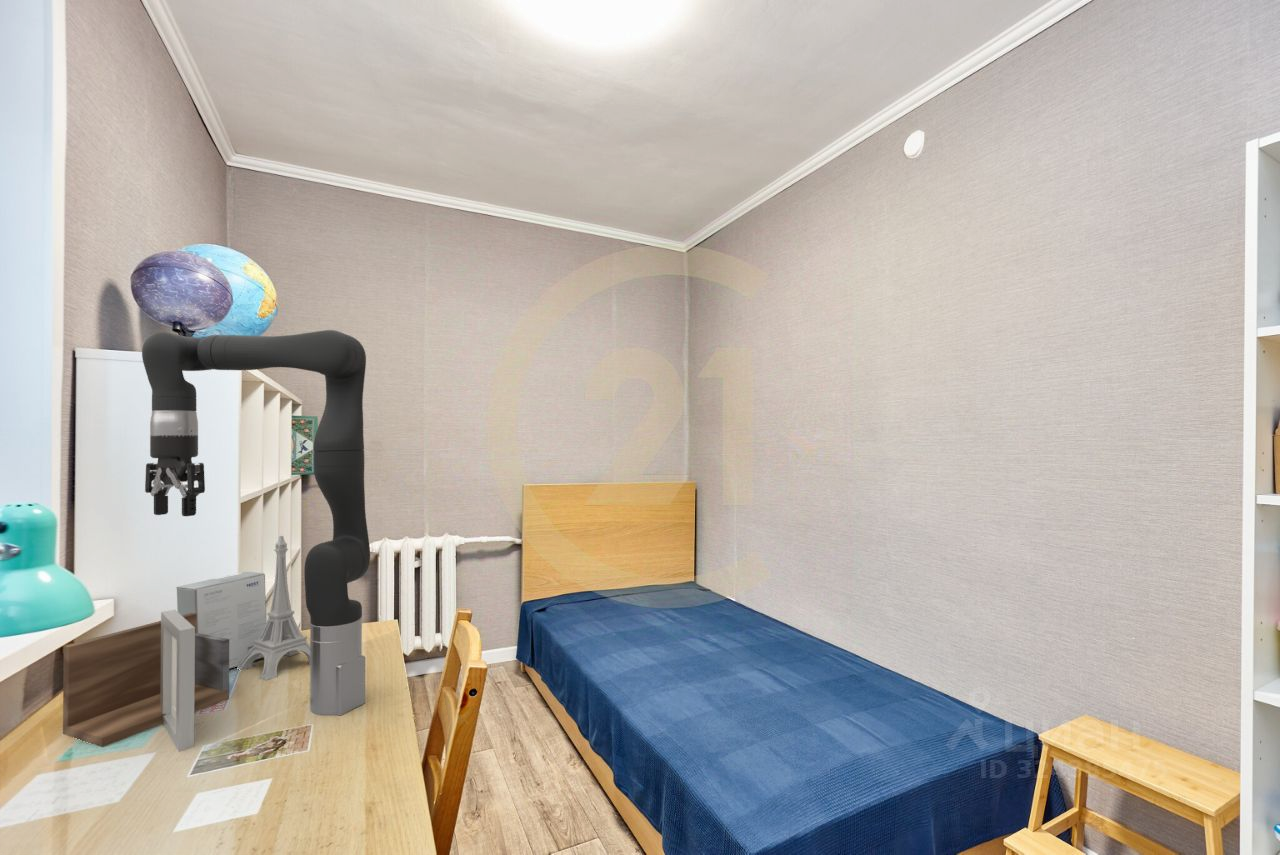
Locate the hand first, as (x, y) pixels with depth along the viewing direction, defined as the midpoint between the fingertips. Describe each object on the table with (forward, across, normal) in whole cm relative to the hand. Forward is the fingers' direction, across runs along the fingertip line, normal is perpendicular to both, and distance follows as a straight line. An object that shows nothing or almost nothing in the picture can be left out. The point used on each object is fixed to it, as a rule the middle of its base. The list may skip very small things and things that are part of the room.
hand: (174, 515), depth 117 cm
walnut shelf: (+38, -1, +5) cm, 38 cm away
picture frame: (+38, -13, +7) cm, 41 cm away
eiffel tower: (+38, -1, -22) cm, 44 cm away
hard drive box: (+37, +10, -17) cm, 42 cm away
